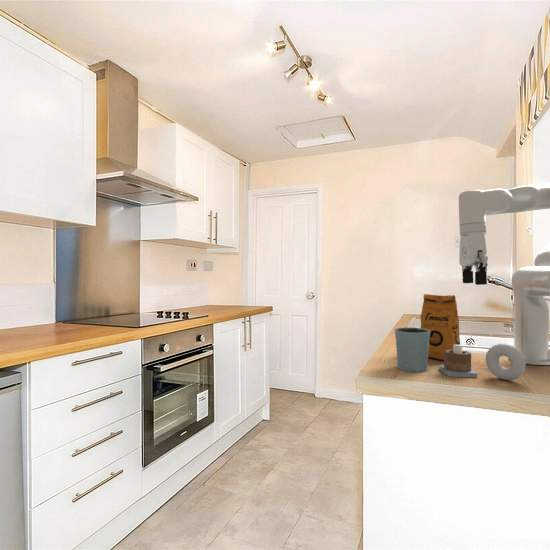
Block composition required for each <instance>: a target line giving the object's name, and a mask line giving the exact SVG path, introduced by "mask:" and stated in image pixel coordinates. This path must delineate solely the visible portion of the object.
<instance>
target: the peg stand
mask: <svg viewBox="0 0 550 550" xmlns="http://www.w3.org/2000/svg"><path fill="white" fill-rule="evenodd" d="M462 351H463V345H462V344H460V345H453V353H457V354H462ZM438 366H439V367H438V369H439V370H441V373H442V374H444V375H445V376H446V377H449V376H451V378H456V377H457V378H459V377H460V378H475V377H477V378H478V375H479V373H478V372H476V371H475V370H473V369H472V368H471V371H468V372H455V371H451V370H447V369H445V368H444V365H438Z"/></svg>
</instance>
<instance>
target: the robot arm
mask: <svg viewBox="0 0 550 550" xmlns="http://www.w3.org/2000/svg"><path fill="white" fill-rule="evenodd" d="M548 209H550V182H547V183H540V184H539V183H537V184H528V185H521V186H517V187H513V188H510V189H509V188H508V189H504V188H495V189H494V188H493V189H486V190H482V189H469V190H466V191H465V190H464V191H461V192H460V193H459V194H458V223H459V227H458V228H459V236H460V238H459V240H460V241H459V260H458V261H459V265H460V266H461V267H462V268H461V272H462V283H463V284H473V283H474V284H475V285H477V286H479V285H480V286H481V285H488V278H487V277H488V275H487V273H488V268H487V267H488V261H489V260H488V259H489V257H488V256H487V254H488V251H487V242H486V236H485V235H486V234H487V218H486V217H488V216H492V215H493V216H495V215H502V214H512V213H516V214H517V213H523V212H530V211H531V212H532V211H539V210H548ZM533 263H534V266H525V267H520V268H518V269H517V270H515V271H514V273H513V274H512V276H511V288H512V292H513V298H514V334H513V335H514V343H513V344H514V346H513V347H515V348H517V349H518V350H519V351H520V352H521V353H522V355H523V357H524V359H525V364H526V365H534V366H550V348H549V346H550V345H549V339H550V338H549V336H550V334H549V333H550V324H549V323H550V308H549V305H548V302H547V301H546V299H545V297H550V241H549V242H548V243H547V244H546V245H545V246H544V247H543V248H542V249H541V250H540V252H538V253H537V255H536V256H535V258H534V262H533ZM473 268H474V269H475V271H474V270H473Z"/></svg>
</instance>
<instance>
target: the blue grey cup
mask: <svg viewBox="0 0 550 550" xmlns="http://www.w3.org/2000/svg"><path fill="white" fill-rule="evenodd" d="M394 335H395V346H396V348H395V349H396V360H397V362H396V363H397V364H396V365H397V369H398V368H399V371H400V370H401V371H403V372H410V373H425V372H427V371H428V360H429V357H428V351H429V339H430V330H427V329H422V328H421V327H406V326H405V327H397V328H395V329H394Z"/></svg>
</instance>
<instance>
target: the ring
mask: <svg viewBox="0 0 550 550" xmlns="http://www.w3.org/2000/svg"><path fill="white" fill-rule="evenodd" d="M443 366H444V368H445V369H447V370H451V371H455V372H468V371H471V369H472V353H471V352H470V351H466V350H462V354H457V353H453V350H445V351H444V360H443Z"/></svg>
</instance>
